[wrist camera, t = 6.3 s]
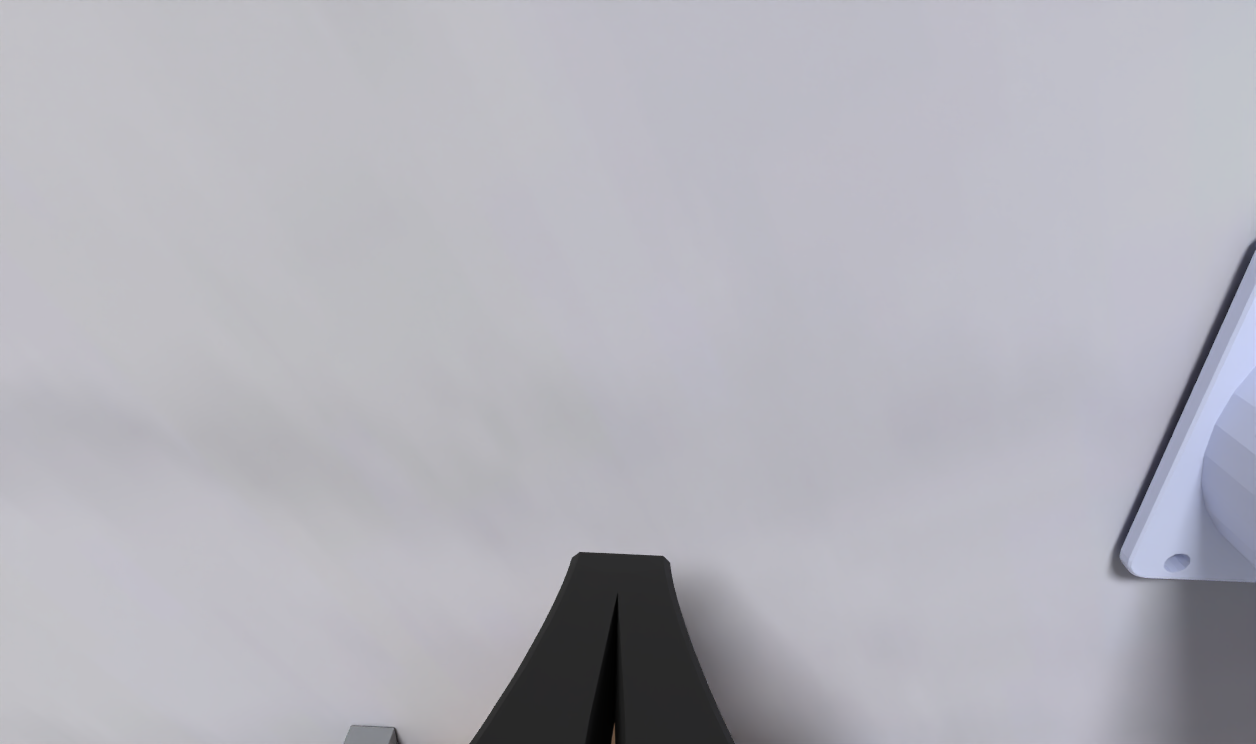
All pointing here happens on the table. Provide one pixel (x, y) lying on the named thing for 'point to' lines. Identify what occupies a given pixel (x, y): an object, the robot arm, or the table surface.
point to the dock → (370, 735)
